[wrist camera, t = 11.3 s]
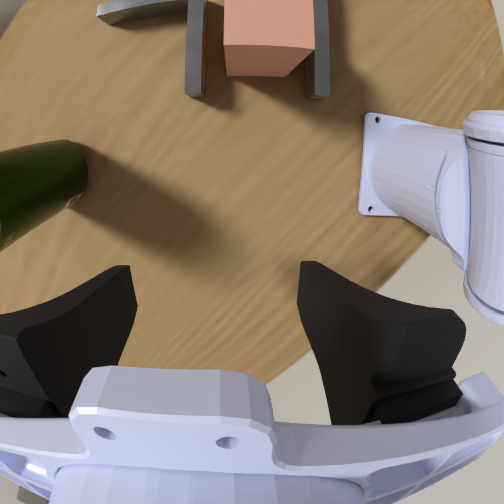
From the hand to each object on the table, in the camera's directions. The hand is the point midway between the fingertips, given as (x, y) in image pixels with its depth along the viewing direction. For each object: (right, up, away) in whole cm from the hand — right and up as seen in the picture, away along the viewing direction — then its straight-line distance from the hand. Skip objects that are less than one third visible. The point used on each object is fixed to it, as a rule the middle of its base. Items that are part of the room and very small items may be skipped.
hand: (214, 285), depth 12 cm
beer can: (-13, +8, +7) cm, 17 cm away
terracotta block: (+2, +15, +5) cm, 16 cm away
